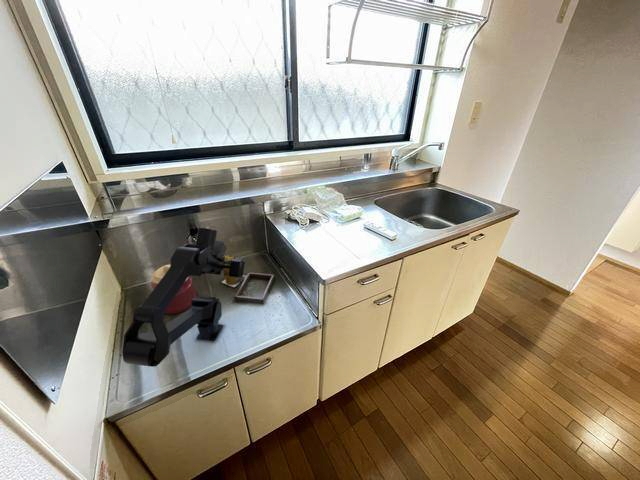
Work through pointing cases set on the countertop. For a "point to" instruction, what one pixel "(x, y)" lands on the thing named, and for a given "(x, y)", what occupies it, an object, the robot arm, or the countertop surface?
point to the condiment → (228, 280)
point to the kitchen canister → (183, 295)
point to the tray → (254, 299)
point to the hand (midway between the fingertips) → (227, 269)
